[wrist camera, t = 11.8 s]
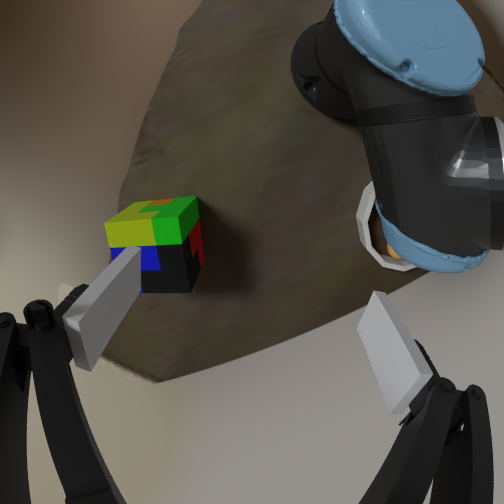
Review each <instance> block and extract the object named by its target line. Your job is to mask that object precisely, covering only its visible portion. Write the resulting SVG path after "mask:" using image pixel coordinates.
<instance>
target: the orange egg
mask: <svg viewBox="0 0 504 504" xmlns="http://www.w3.org/2000/svg"><path fill="white" fill-rule="evenodd" d="M387 250H388V252H389V254H390V255H391V256H392V257H393V258H395V259H402V258H401V257H400V256H398V255H397V254H396V253H395V251H394V250H393V248H392V247H391V246H390V245H389V244H388V243H387Z"/></svg>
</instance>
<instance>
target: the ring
mask: <svg viewBox="0 0 504 504" xmlns="http://www.w3.org/2000/svg"><path fill="white" fill-rule="evenodd" d="M375 197H376V196H375V191H374V186H373V181H371V182H370V183H369V184H368V185H367V186H366V187H365V188H364V191H363V194H362V198H361V201H360V204H359V208H358V211H357V214H356V219H357V224H358V229H359V235H360V240H361V242H362V244H363V245H364V246H365V247H366V249H367V250H368V251H369V252H370V253H371V254H372V255H373V257H374V258H375V259H376V260H377V261H378V262H379V263H380V264H381V265H382V266H383V267H387V268H391V269H396V270H400V271H407V270H410V269H412V268H415V267H417V266H415V265H412V264H410V263H409V262H407V261H405V260H404V259H395V258H393V257H389V256H385V255H381V254H378V252H377V251H376V250H375V249H374V248H373V247H372V246H371V240H370V234H369V228H368V219H369V216H370V213H371V210H372V207H373V203H374V200H375Z"/></svg>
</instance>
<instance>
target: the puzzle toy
mask: <svg viewBox="0 0 504 504" xmlns="http://www.w3.org/2000/svg"><path fill="white" fill-rule="evenodd" d="M104 225H105V229H106V233H107V238H108V242H109V246H110V250H111V254H112V258H113V261H114V259H115V258H116V257H117V256H118V255H119V254H120V253H121V252H122V251H123V250H124V249H125V248H126V247H127V246H128V245H129V246H134V247H139V248H141V291H140V293H191V291H192V289H193V286H194V284H195V282H196V279H197V277H198V274H199V272H200V270H201V267H202V265H203V262H204V260H205V256H204V249H203V242H202V234H201V226H200V218H199V210H198V202H197V196H195V197H183V198H172V199H162V200H152V201H143V202H135V203H134V204H132V205H130V206H129V207H127V208H126V209H124V210H123V211H121V212H120V213H118V214H117V215H116V216H114V217H113V218H111V219H110V220H108V221H107V222H105V223H104Z"/></svg>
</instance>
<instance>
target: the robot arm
mask: <svg viewBox="0 0 504 504" xmlns="http://www.w3.org/2000/svg"><path fill="white" fill-rule="evenodd" d="M484 64H485V55H484V49H483V45H482V41H481V38H480V36H479V34H478V31H477V29H476V27H475V25H474V24H473V22H472V20H471V19H470V17H469V16H468V14H467V13H466V12H465V11H464V9H463V8H462V7H461V6H460V5H459V4H458V2H457V1H456V0H335V1H334V3H333V5H332V7H331V8H330V10H329V12H328V14H327V16H326V18H325V20H324V21H321V22H318V23H316V24H314V25H312V26H311V27H309V28H308V29H306V30H305V31H304V32H303V33H302V34H301V36H300V37H299V38H298V40H297V42H296V44H295V46H294V49H293V52H292V56H291V72H292V76H293V79H294V82H295V84H296V86H297V88H298V90H299V91H300V93H301V94H302V96H303V97H304V98H305V99H306V100H307V101H308V102H309V103H310V104H311V105H312V106H314V107H315V108H316V109H318V110H319V111H321V112H323V113H325V114H327V115H329V116H332V117H335V118H339V119H345V120H358V124H359V128H360V132H361V135H362V139H363V143H364V147H365V151H366V155H367V159H368V163H369V168H370V172H371V176H372V181H373V186H374V191H375V196H376V201H375V204H376V209H377V211H378V214H379V215H380V217H381V222H382V227H383V231H384V236H385V238H386V240H387V243H388V244H389V245H390V246H391V247H392V248H393V250H394V251H395V253H396V254H397V255H398V256H400V257H401V258H402V259H404V260H405V261H407V262H409V263H410V264H412V265H415V266H417V267H419V268H422V269H426V270H429V271H434V272H440V273H458V272H462V271H463V270H464V269H465V267H466V268H468V269H473V268H475V267H477V266H478V265H480V264H481V263H482V262H483V260H484V259H485V257H486V255H487V254H488V252H489V249H493V250H504V123H503V122H502V121H500V120H499V119H498V118H497V117H479V116H478V114H477V110H476V105H475V101H474V97H473V93H472V89H473V87H474V86H476V84H477V83H478V82H479V81H480V79H481V77H482V75H483V70H482V68H481V66H482V65H484ZM140 291H141V248H139V247H134V246H129V245H128V246H127V247H126V248H125V249H124V250H123V251H122V252H121V253H120V254H119V255H118V256H117V257H116V258H115V259H114V261H113V262H112V263H111V264H110V265H109V266H108V267H107V268H106V269H105V270H104V271H103V272H102V273H101V274H100V275H99V276H98V277H97V278H96V279H95V280H94V281H93V283H92V284H91V285H86V284H82V285H80V286H78V287H76V288H74V289H73V290H72V291H71V292H70V293H69V296H67V297H66V298H65V299H64V301H62V302H61V303H60V304H59V305H58V306H57V307H56V309H55V310H53V306H52V304H51V303H50V302H49V301H46V300H35V301H32V302H30V303H28V304H27V305H26V306H25V308H24V311H23V313H24V317H25V320H26V323H27V324H21V323H20V324H19V323H16V320H15V317H14V316H13V315H12V314H11V313H7V312H3V313H0V504H31V499H30V492H29V483H28V470H27V442H26V441H27V435H26V434H27V409H28V396H29V386H30V377H31V371H32V372H33V379H34V385H35V391H36V396H37V402H38V407H39V411H40V416H41V420H42V424H43V428H44V432H45V436H46V439H47V443H48V446H49V449H50V452H51V456H52V459H53V462H54V465H55V468H56V470H57V473H58V476H59V479H60V481H61V484H62V486H63V489H64V491H65V494H66V499H65V503H66V504H127V503H126V502H125V500H124V498H123V496H122V495H121V493H120V491H119V489H118V487H117V486H116V484H115V482H114V480H113V478H112V476H111V474H110V472H109V470H108V468H107V466H106V464H105V462H104V460H103V458H102V455H101V453H100V451H99V448H98V447H97V444H96V442H95V439H94V437H93V434H92V432H91V429H90V427H89V424H88V421H87V419H86V416H85V413H84V411H83V408H82V405H81V402H80V398H79V395H78V392H77V389H76V386H75V383H74V379H73V375H72V372H71V368H70V365H69V363H70V361H71V360H72V358H73V359H74V362H75V364H76V366H77V367H79V368H82V369H84V370H87V371H90V372H91V371H92V369H93V367H94V365H95V364H96V362H97V360H98V359H99V357H100V355H101V353H102V352H103V350H104V348H105V347H106V345H107V343H108V342H109V340H110V338H111V337H112V335H113V334H114V332H115V330H116V329H117V327H118V325H119V324H120V322H121V321H122V319H123V318H124V316H125V314H126V313H127V311H128V310H129V308H130V307H131V305H132V304H133V302H134V300H135V299H136V297H137V296H138V294H139V293H140ZM357 330H358V332H359V334H360V337H361V340H362V342H363V345H364V347H365V350H366V352H367V355H368V357H369V360H370V362H371V365H372V368H373V371H374V373H375V376H376V379H377V381H378V384H379V387H380V390H381V392H382V395H383V398H384V401H385V404H386V407H387V409H388V413H389V414H399V413H402V412H403V411H404V410H405V409H406V408H407V407H408V405H409V407H410V410H411V412H409V414H408V415H407V416H406V417H405V418H404V419H403V420H402V421H401V422H400V424H399V425H401V424H402V423H403V425H402V428H401V430H400V432H399V434H398V436H397V438H396V440H395V442H394V444H393V446H392V448H391V450H390V452H389V454H388V456H387V458H386V460H385V461H384V463H383V465H382V467H381V469H380V470H379V472H378V474H377V475H376V477H375V479H374V480H373V482H372V484H371V485H370V487H369V488H368V490H367V492H366V493H365V495H364V496H363V498H362V499H361V501H360V502H359V504H423V502H424V500H425V497H426V495H427V493H428V490H429V488H430V485H431V483H432V480H433V486H432V493H431V498H430V503H429V504H493V488H494V482H493V481H494V473H493V450H492V438H491V428H490V421H489V415H488V407H487V401H486V396H485V393H484V392H483V390H482V389H481V388H480V387H479V386H477V385H473V384H472V385H470V386H469V387H468V388H467V389H466V390H465V391H460V390H456V387H455V385H454V384H453V383H452V382H451V381H450V380H449V379H447V378H444V377H440V376H439V374H438V372H437V370H436V369H435V367H434V365H433V363H432V361H431V360H430V358H429V356H428V355H427V354H426V351H425V350H424V348H423V346H422V345H421V344H420V343H419V342H418V341H417V340H415V339H413V337H412V336H411V334H410V332H409V330H408V329H407V327H406V326H405V324H404V322H403V321H402V319H401V317H400V316H399V314H398V313H397V311H396V309H395V308H394V306H393V304H392V303H391V301H390V300H389V298H388V297H387V295H386V294H385V292H379V291H373V294H372V296H371V298H370V301H369V303H368V305H367V308H366V310H365V312H364V314H363V316H362V318H361V320H360V323H359V325H358V327H357ZM463 424H464V427H463V430H462V431H461V426H462V425H463ZM433 477H434V478H433Z"/></svg>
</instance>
